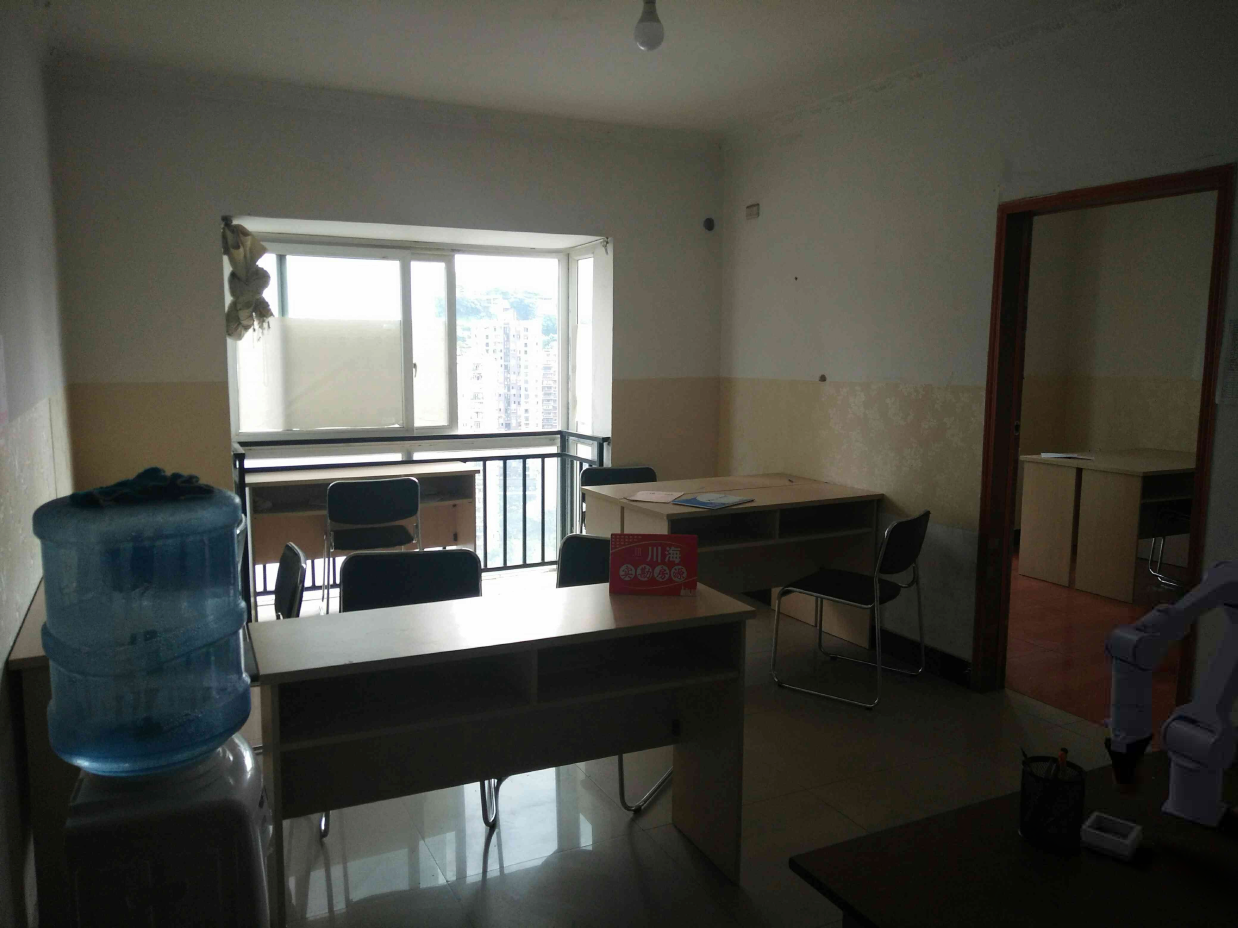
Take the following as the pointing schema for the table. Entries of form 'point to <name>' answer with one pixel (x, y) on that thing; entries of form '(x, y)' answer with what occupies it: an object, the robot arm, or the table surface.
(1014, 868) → the table surface
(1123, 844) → the socket block
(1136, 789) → the walnut peg
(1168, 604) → the robot arm
